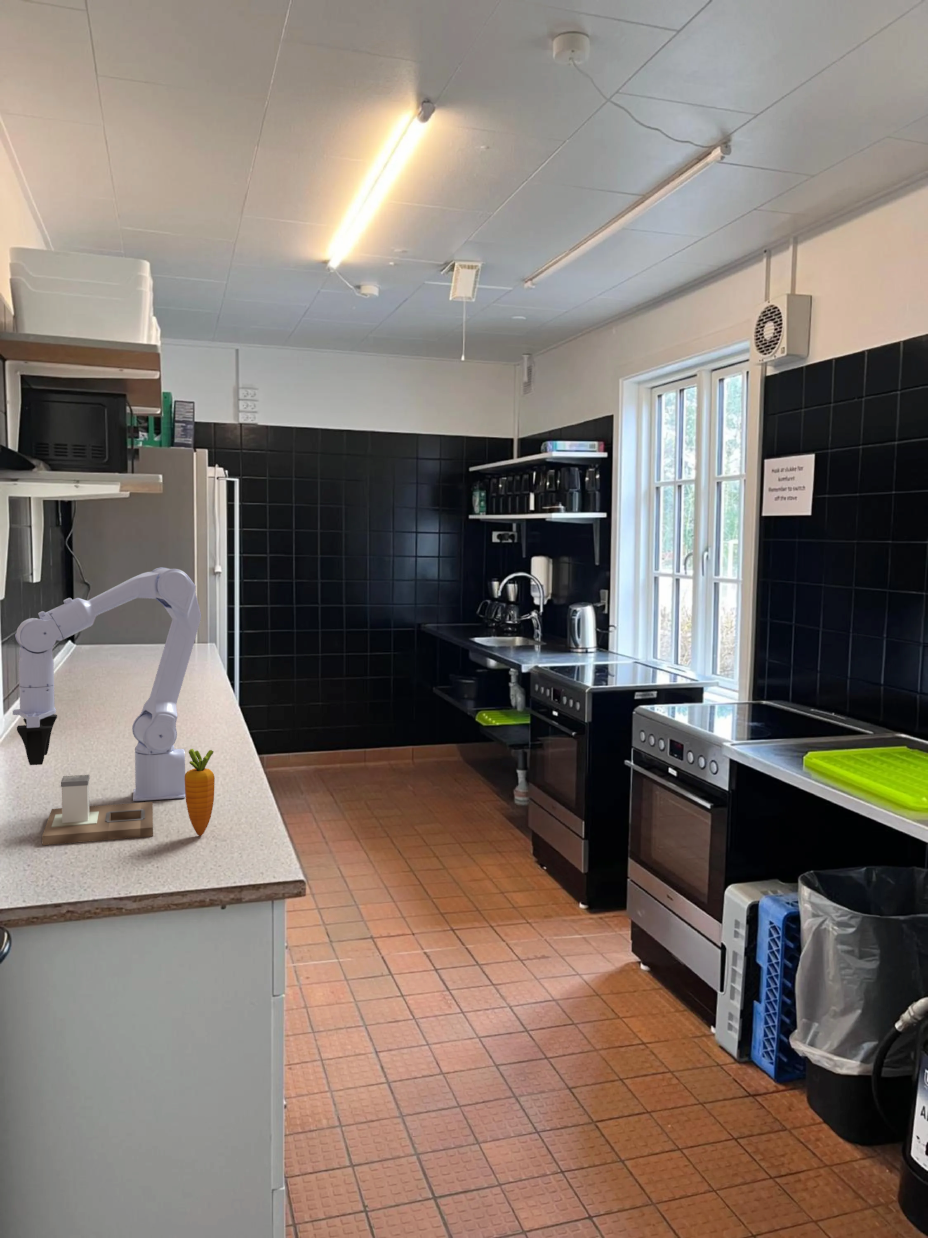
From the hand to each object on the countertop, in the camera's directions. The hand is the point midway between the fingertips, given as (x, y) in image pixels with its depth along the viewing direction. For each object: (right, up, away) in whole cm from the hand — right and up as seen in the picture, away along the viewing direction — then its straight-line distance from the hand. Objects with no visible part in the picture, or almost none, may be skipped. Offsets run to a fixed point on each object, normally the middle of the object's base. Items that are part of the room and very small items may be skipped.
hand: (38, 759), depth 170 cm
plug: (+11, -9, -9) cm, 17 cm away
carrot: (+33, -11, -12) cm, 37 cm away
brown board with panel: (+14, -10, -8) cm, 19 cm away
